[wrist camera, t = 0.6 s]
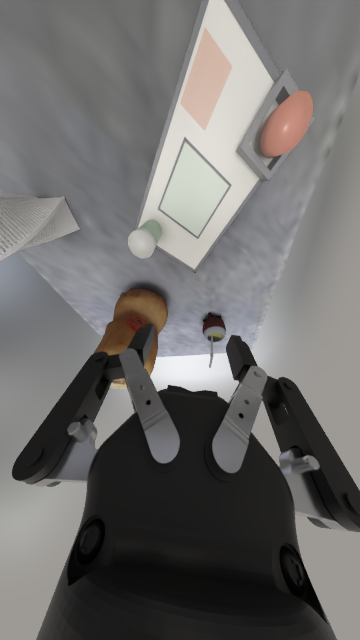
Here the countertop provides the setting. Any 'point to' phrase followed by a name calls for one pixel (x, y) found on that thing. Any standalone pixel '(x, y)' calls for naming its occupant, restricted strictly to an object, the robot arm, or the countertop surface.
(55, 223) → the skyscraper
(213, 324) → the mate gourd
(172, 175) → the white flat board
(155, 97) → the countertop surface
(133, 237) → the marker
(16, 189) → the countertop surface
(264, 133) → the button
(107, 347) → the butternut squash
